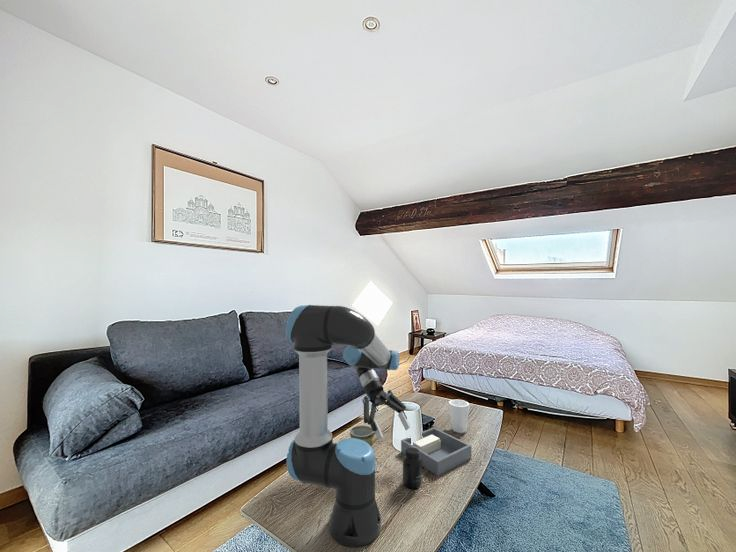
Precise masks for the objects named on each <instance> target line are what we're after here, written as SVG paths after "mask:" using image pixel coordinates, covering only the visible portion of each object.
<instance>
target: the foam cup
mask: <svg viewBox="0 0 736 552" xmlns="http://www.w3.org/2000/svg"><path fill="white" fill-rule="evenodd" d="M448 408H449V412H450V413H449V415H450V419H451V422H450V423H451V426H452V431H453V432H455V433H458V434H463V433H466V432H467V425H468V419H469V418H468V417H469V410H470V403H469V402H468V401H466V400H463V399H451V400H449V401H448Z"/></svg>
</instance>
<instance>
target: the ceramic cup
mask: <svg viewBox="0 0 736 552" xmlns="http://www.w3.org/2000/svg"><path fill="white" fill-rule="evenodd" d="M349 435H350V438H356V439H360V440H363V441H365V442H366V443H368V444H369V445H370V446H371V447H372V446H374V444H375V443H376V442H377V441H379V440H378V438H377V437H376V439H375V440H374V441H373V438H374V437H375V435H376V433H375V431H373V430H372V428H371V426H370V425H364V424H362V425H361V424H360V425H356V426H353V427H351V428H350V429H349Z"/></svg>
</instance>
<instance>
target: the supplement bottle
mask: <svg viewBox="0 0 736 552" xmlns="http://www.w3.org/2000/svg"><path fill="white" fill-rule="evenodd" d="M422 484H423V466H422V460H421V458H420V457H419V450H418V449H416V448H413V447H410V448H407V449H406V453H405V455H404V456H403V459H402V485H403V487H404V488H405V489H407V490H410V491H417V490H419V488H420V487H421V486H422Z"/></svg>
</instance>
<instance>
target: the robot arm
mask: <svg viewBox="0 0 736 552" xmlns="http://www.w3.org/2000/svg"><path fill="white" fill-rule="evenodd" d="M285 335H286V338H287V340H288V341H289V342H291V343H293V350H294V352H295V353H296V354H298V360H299V361H298V362H299V363H298V367H299V369H298V371H299V372H298V374H299V375H298V377H299V378H298V379H299V383H298V384H299V385H298V386H299V387H298V388H299V389H298V390H299V392H298V395H299V396H298V397H299V401H298V402H299V432H297V433H296V435H295V436H294V439H293V440H292V441H291V442H290V444H289V447H288V453H287V454H286V469H287V472H288V475H289V476H290V477H291V478H292V479H293V480H295V481H298V482H300V483H303V484H311V485H315V486H319V487H322V488H323V487H324V488H328V489H332V490H335V501H334V504H333V508H332V511H331V513H330V516H329V517H330V518H329V533H330V535H331V537H332V538H333V539H334V540H335V541H336V542H337V543H338V544H340V545H342V546H345V547H352V548H356V547H357V548H359V547H363V546H366V545H368V544H370V543H372V542H373V541H375V540H376V539H377V538H378V536H379V535H380V532H381V530H382V516H381V513H380V509H379V507H378V503H377V500H376V459H375V451H374V448H372V446H370V445H369V444H368V443H366V442H365V441H363V440H360V439H356V438H351V437H349V438H343V439H340V440H339V441H338V442H337V443H335V442H334V441H333V438H334V437H333V433H332V431H330V430H329V429H328V428H329V426H328V425H329V423H328V422H329V421H328V420H329V419H328V354H329V352H330V351H331V350H332V349H333V346H334V345H336V346H337V345H338V346H347V347H345V349H344V351H343V353H342V357H343V359H344V361H345V362H346V364H348V365H349V366H351V368H353V369H354V370H355V372H356V374H357V376H358V378H359V381H360V384H361V385H362V387H363V390H364V391H365V394H366V395H365V396H364V397H363V399H362V400H361V401H362V403H363V423H364V424H367V426H370V427H371V428H372V430H373V431H374V432H375V433H376V434H375V435H376V439H377V438H378V440H377V441H381V440H382V439H383V438H384V435H383V433H382V430H381V427H380V426H379V424H378V421H377V420H376V419H375V416H376V411H377V408H378V407H380V406H383V405H384V406H387V407H389V408H390V409H392V410H393V411H395V412H396V413H398V414H397V416H398V418H399V420H400V422H401V424H402V426H403V428H404V430H405V431H407V430H409V429H410V428H411V424H409V421H408V417H407V415H406V413H405V410H406V409H407V406H406V405H405V404H404V403H403V402H402V401H401V400H400V399H399V398H397V396H396V395H395V394H394V393H393V392H392V390H391V389H388V390H387V391H385V390H384V385H382V382H381V380H380V377H379V376H378V374H377V372H376V369H377V370H387V371H396V370H398V369H399V366H400V353H399V352H398V351H396V350H392V349H389V348H387V346H386V345H385V344H384V342H383V341H382V340H381V339H380V337H378V335H377V334H376V330H375V328H374V326H373V324H372V323H371V322H370V321H369V320H368V319H367V317H365V316H364V315H362V314H361V313H360V312H359V311H358V312H357V311H356V310H353V309H351V308H349V307H347V306H343V305H319V304H317V305H314V304H308V305H307V304H306V305H299V306H296V307H295V308H294V309H293V310H292V311H291V313H290V314H289V316H288V318H287V321H286V324H285ZM370 403H371V405H370Z"/></svg>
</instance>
